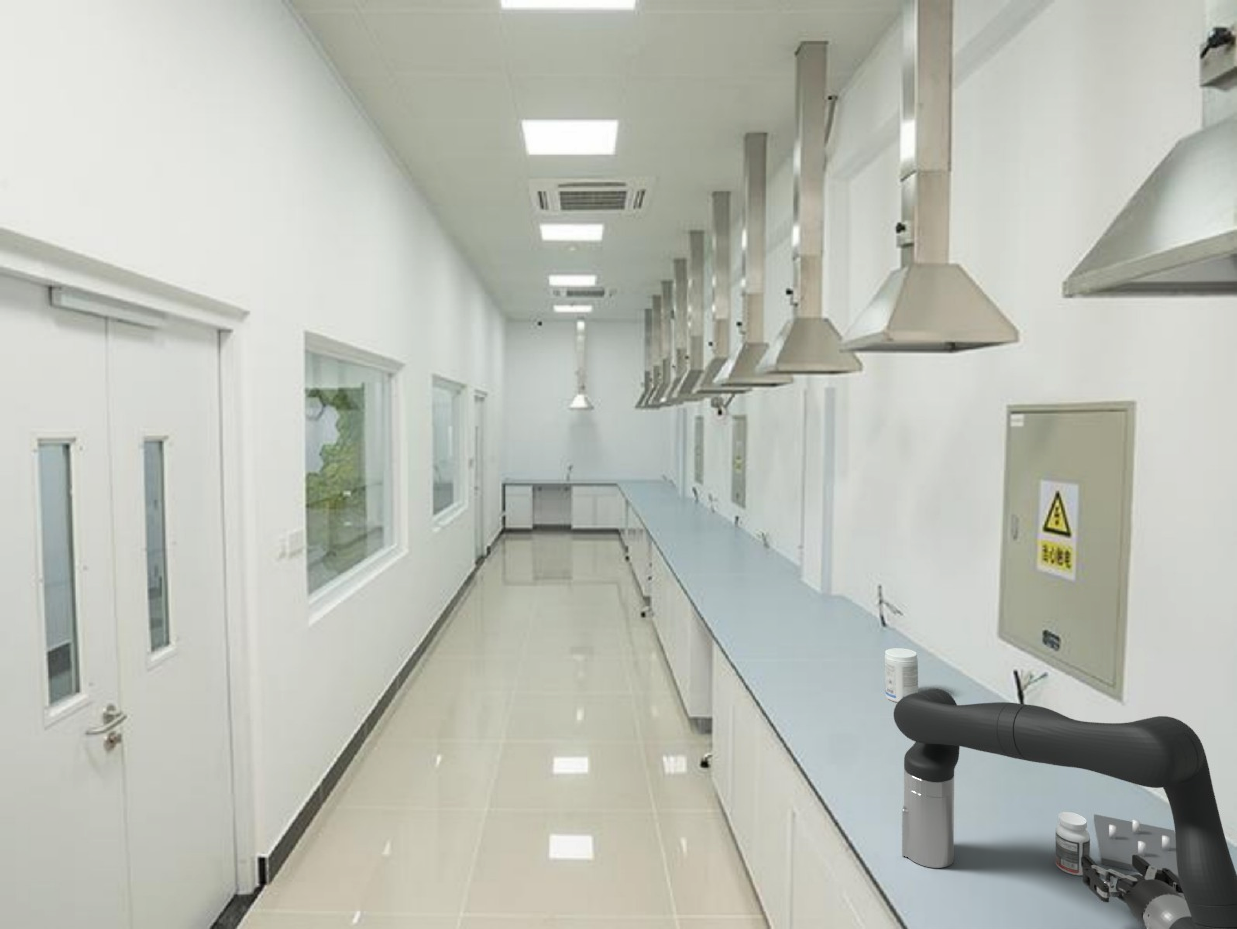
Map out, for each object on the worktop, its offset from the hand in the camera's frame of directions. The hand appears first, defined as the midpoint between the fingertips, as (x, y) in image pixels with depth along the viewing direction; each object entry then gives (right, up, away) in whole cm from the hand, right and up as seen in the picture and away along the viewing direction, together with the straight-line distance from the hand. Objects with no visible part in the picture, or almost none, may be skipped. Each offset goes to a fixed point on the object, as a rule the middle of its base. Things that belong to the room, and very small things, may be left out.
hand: (1108, 859), depth 132 cm
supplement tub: (+1, -3, +100) cm, 100 cm away
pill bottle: (+1, -8, +12) cm, 14 cm away
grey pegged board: (+17, -7, +18) cm, 26 cm away
